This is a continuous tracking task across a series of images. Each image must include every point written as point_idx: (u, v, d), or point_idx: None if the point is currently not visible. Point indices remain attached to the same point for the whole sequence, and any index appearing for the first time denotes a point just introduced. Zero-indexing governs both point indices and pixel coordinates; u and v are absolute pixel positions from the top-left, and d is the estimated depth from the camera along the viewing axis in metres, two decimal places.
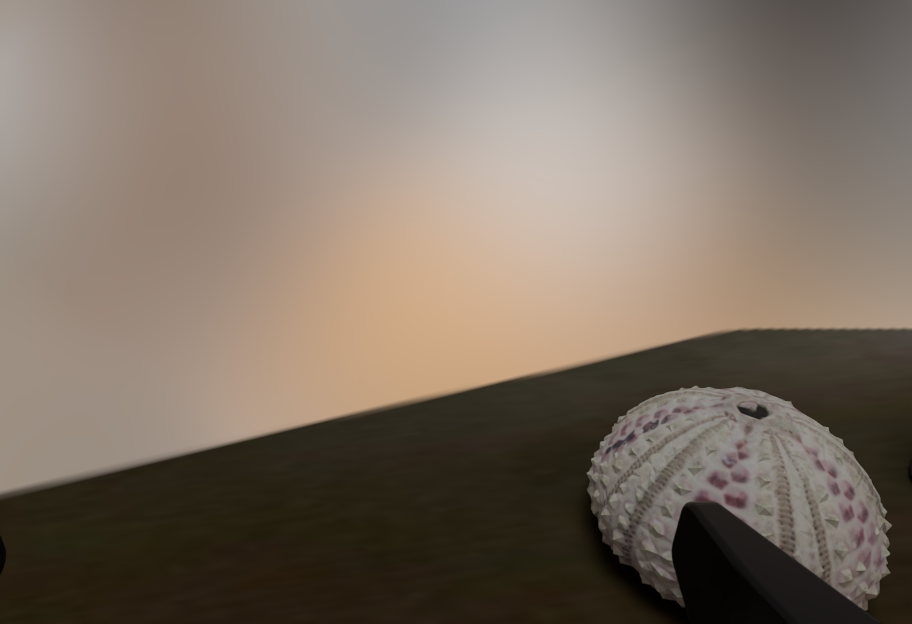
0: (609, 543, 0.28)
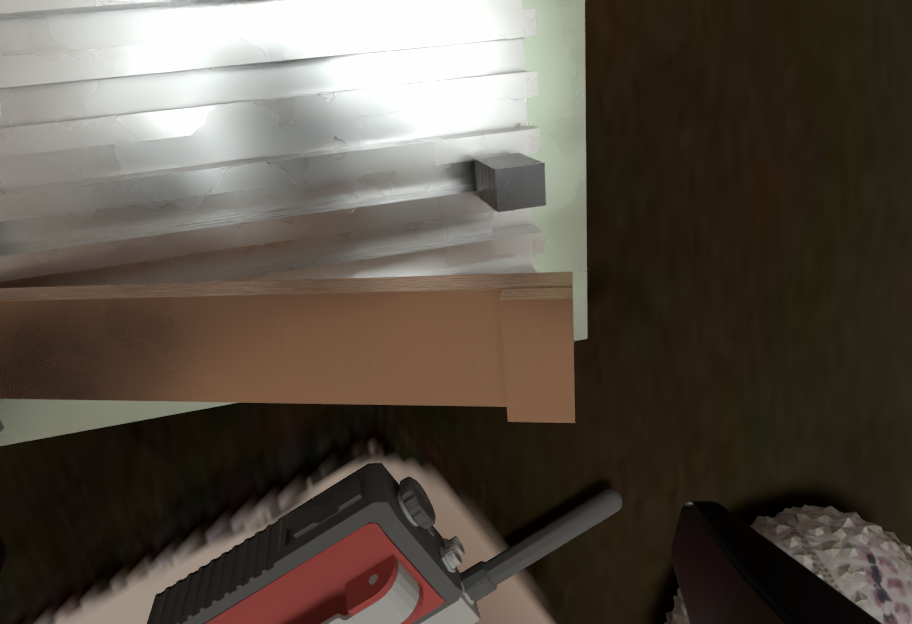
0: (762, 523, 0.28)
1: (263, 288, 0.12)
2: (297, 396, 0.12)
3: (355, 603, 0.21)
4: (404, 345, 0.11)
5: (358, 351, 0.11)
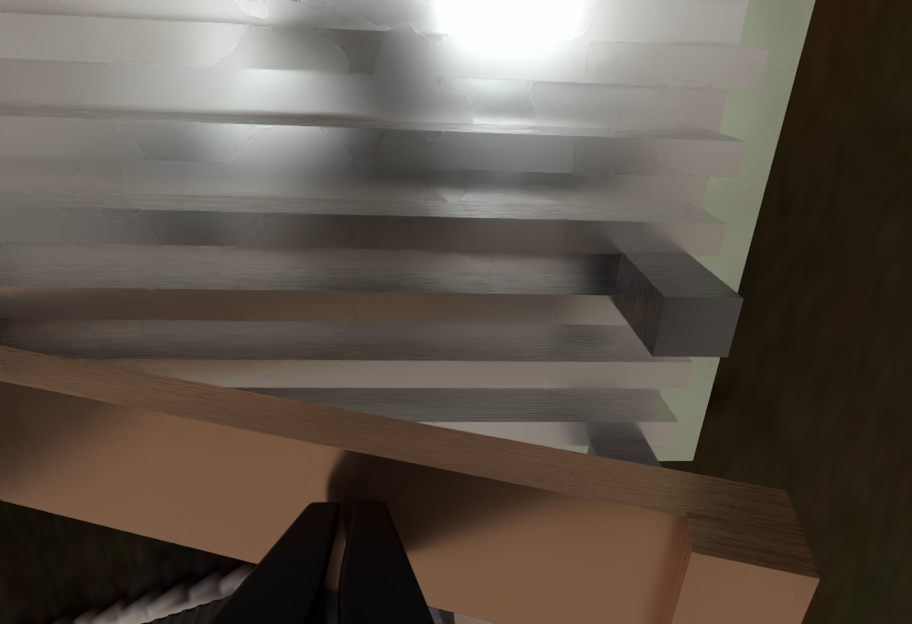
0: None
1: (306, 423, 0.08)
2: None
3: None
4: (506, 551, 0.07)
5: (433, 543, 0.08)
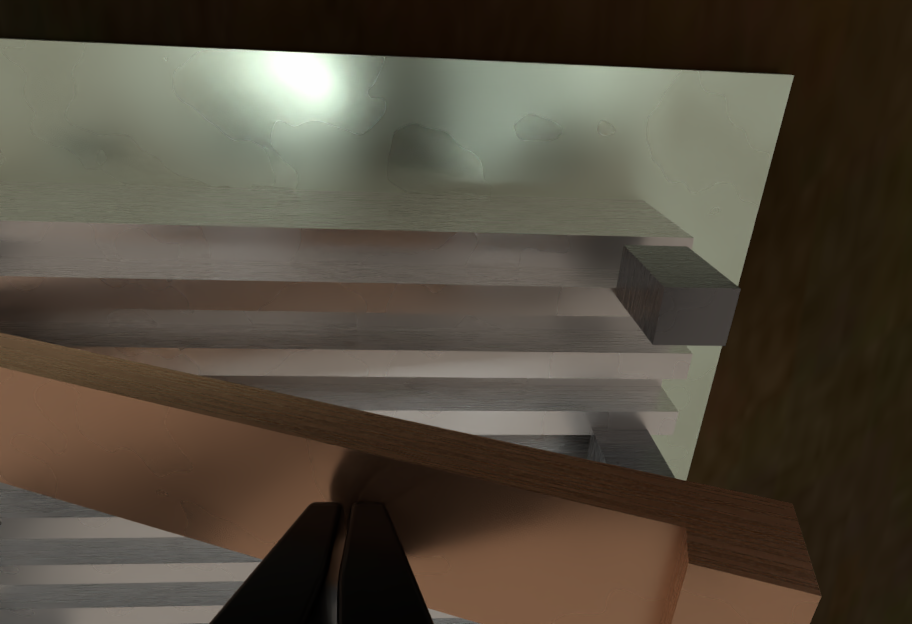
0: None
1: None
2: None
3: None
4: None
5: None
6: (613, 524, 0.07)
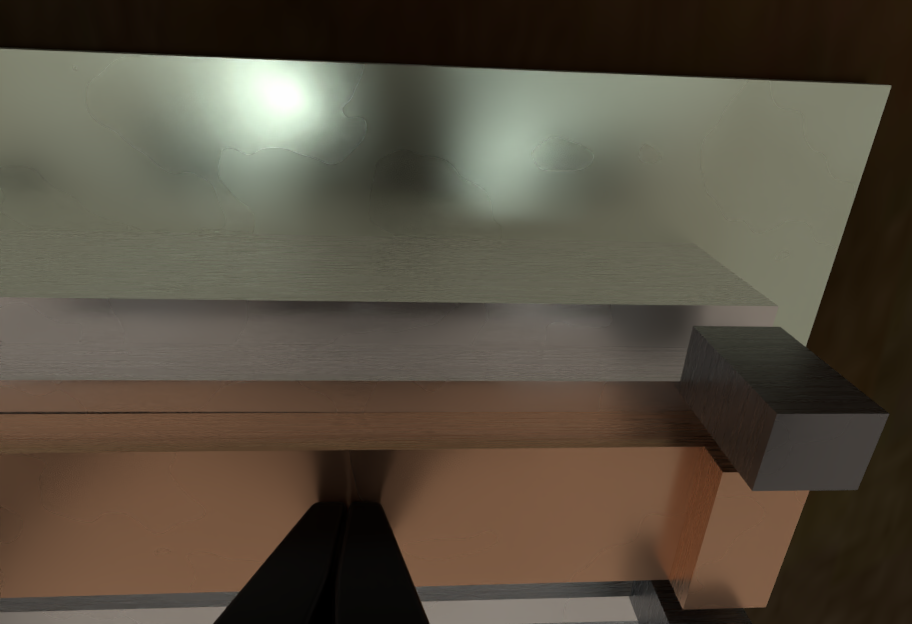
0: None
1: None
2: None
3: None
4: None
5: None
6: (645, 459, 0.08)
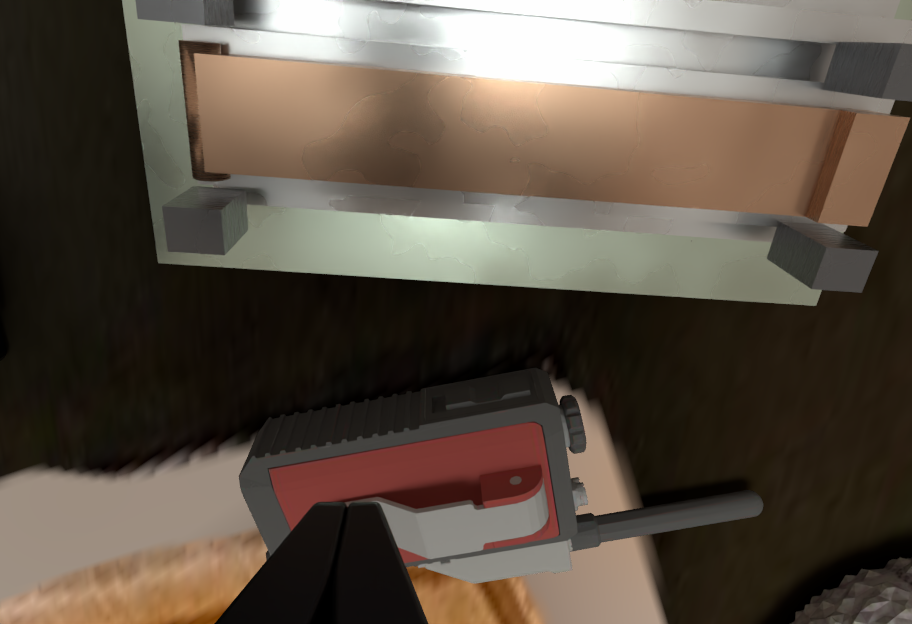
0: None
1: (626, 90, 0.13)
2: (627, 196, 0.14)
3: (493, 496, 0.19)
4: (743, 153, 0.13)
5: (701, 156, 0.13)
6: None
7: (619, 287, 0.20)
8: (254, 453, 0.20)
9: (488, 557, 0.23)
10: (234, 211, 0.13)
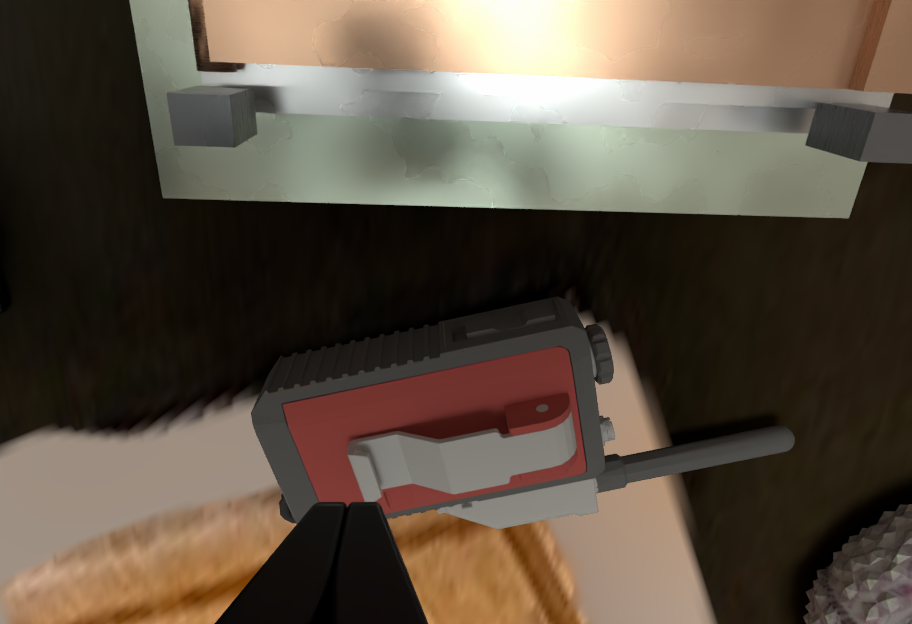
0: None
1: None
2: (658, 72, 0.13)
3: (519, 424, 0.18)
4: (781, 19, 0.12)
5: (736, 24, 0.12)
6: None
7: (643, 206, 0.19)
8: (266, 388, 0.19)
9: (511, 499, 0.22)
10: (243, 104, 0.12)
